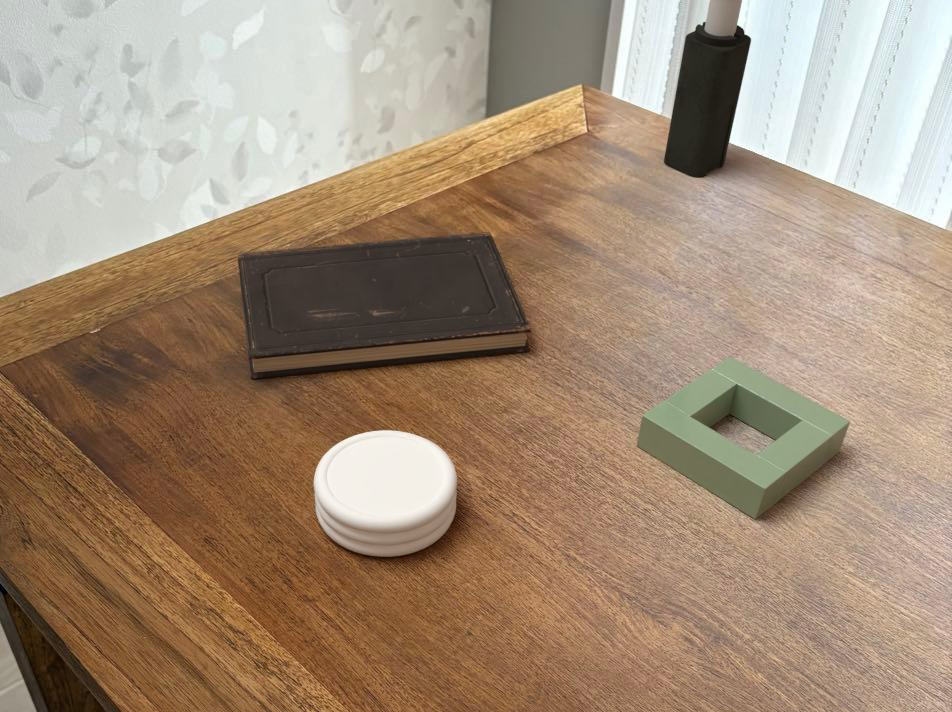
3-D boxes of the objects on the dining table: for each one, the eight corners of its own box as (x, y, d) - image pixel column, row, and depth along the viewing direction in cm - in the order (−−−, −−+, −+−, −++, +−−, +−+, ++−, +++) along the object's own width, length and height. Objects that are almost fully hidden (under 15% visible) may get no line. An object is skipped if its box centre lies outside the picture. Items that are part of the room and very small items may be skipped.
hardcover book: (528, 351, 92) (531, 328, 91) (251, 379, 90) (248, 356, 88) (487, 250, 103) (489, 228, 102) (239, 272, 101) (236, 249, 99)
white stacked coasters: (443, 569, 75) (445, 533, 73) (300, 550, 76) (296, 513, 74) (465, 471, 82) (467, 435, 79) (334, 455, 83) (331, 419, 81)
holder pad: (722, 386, 89) (729, 355, 87) (839, 451, 84) (851, 420, 81) (636, 445, 84) (642, 414, 82) (755, 519, 79) (765, 488, 76)
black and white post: (689, 146, 118) (740, -118, 100) (728, 163, 115) (788, -105, 97) (659, 161, 115) (705, -107, 97) (698, 179, 113) (753, -93, 95)
